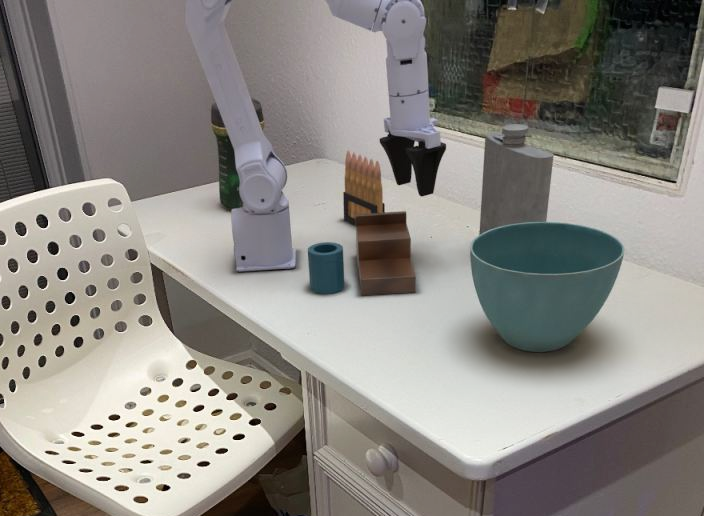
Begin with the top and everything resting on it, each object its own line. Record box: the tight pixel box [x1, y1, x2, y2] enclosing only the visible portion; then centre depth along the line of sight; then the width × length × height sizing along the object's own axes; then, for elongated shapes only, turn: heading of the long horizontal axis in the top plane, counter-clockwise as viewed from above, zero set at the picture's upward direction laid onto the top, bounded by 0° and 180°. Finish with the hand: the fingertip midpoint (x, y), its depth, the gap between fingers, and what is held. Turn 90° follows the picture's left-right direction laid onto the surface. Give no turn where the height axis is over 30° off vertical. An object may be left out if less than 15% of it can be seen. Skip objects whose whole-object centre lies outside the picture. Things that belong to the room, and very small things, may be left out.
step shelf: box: [355, 210, 417, 296], centre depth 125 cm, size 8×16×7 cm, turn 1°
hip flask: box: [478, 123, 555, 236], centre depth 121 cm, size 16×4×20 cm, turn 19°
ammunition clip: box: [342, 150, 386, 227], centre depth 141 cm, size 11×2×12 cm, turn 31°
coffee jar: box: [210, 97, 265, 210], centre depth 153 cm, size 10×8×19 cm
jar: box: [307, 241, 345, 295], centre depth 122 cm, size 5×5×6 cm
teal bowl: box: [469, 221, 625, 353], centre depth 103 cm, size 18×18×12 cm
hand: (414, 189), depth 125 cm, fingers open, 7 cm apart
